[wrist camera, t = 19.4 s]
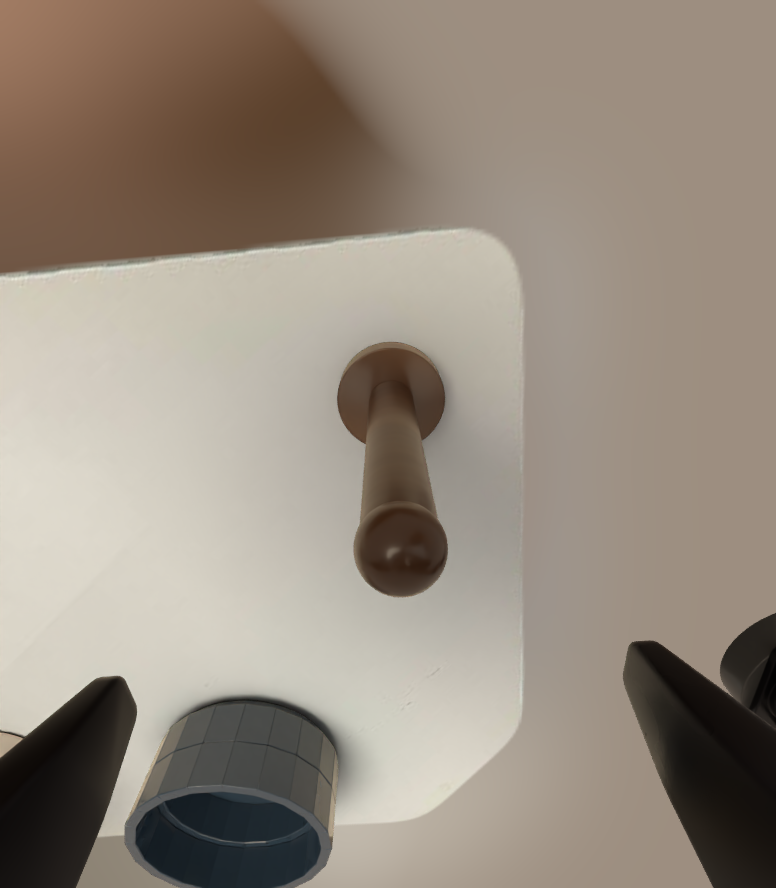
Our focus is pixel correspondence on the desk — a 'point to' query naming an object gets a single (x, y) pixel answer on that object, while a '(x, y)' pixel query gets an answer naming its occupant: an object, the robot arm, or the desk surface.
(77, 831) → the robot arm
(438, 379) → the stirring stick
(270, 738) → the bowl
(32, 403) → the desk surface
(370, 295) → the desk surface
